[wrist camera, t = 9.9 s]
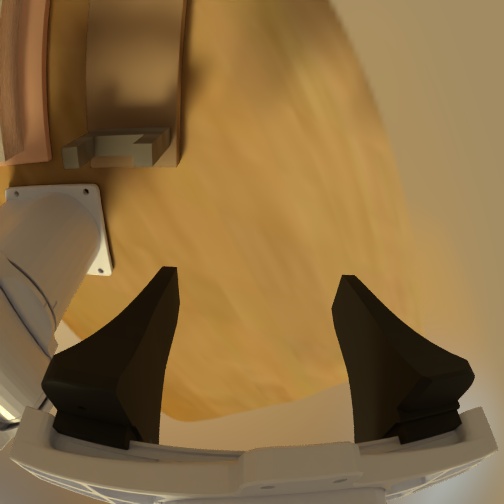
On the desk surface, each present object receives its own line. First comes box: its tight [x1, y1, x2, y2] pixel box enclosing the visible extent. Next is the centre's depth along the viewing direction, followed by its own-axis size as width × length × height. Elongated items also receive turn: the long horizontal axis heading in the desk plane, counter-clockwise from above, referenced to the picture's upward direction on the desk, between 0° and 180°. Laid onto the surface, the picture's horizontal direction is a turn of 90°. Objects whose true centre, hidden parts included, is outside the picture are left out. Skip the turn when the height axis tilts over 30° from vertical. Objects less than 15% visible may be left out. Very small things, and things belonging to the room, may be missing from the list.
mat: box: [0, 0, 52, 166], centre depth 13 cm, size 7×18×1 cm, turn 176°
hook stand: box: [61, 0, 187, 169], centre depth 13 cm, size 17×6×5 cm, turn 176°
